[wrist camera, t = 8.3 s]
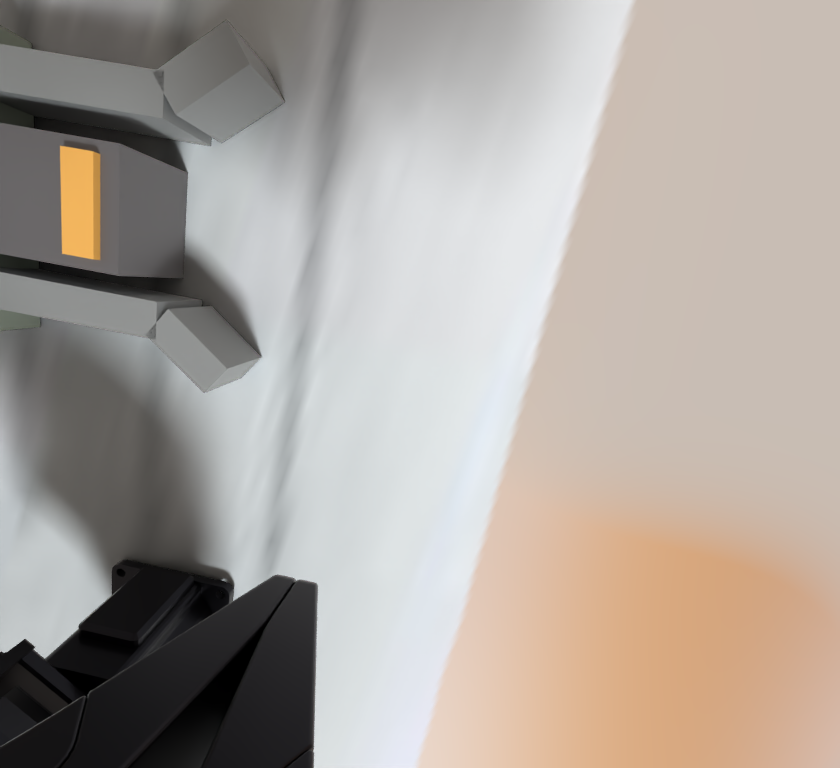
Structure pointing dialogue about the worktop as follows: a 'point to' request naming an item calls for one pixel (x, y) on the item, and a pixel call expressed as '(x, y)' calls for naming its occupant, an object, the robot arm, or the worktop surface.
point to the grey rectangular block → (90, 204)
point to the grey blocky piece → (148, 115)
